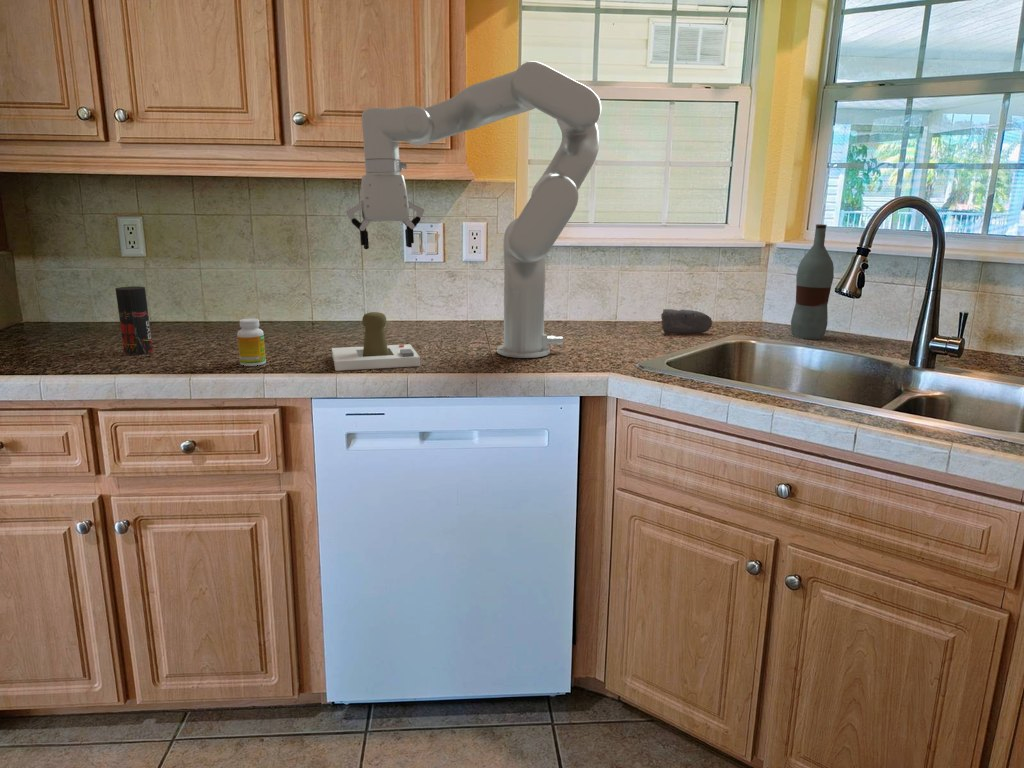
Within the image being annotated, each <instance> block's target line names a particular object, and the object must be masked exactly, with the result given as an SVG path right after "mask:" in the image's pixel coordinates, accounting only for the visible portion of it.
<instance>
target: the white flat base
mask: <svg viewBox="0 0 1024 768" xmlns="http://www.w3.org/2000/svg"><path fill="white" fill-rule="evenodd" d="M387 348H388V354H389V355H387V356H368V357H363V349H364V346H348V347H347V346H346V347H345V346H344V347H332V348H331V357H332V361H334V362H333V366H334V369H335V372H337V371H353V370H354V371H355V370H357V371H358V370H370V369H371V370H373V369H388V368H389V369H391V368H405V367H406V368H407V367H408V368H410V367H420V366H421V357H420V355H419V354H418V353H417V351H416V350H415V348H414V347H413V346H412V345H411V344H410V343H409V344H407V343H406V344H389V345H388V344H387Z"/></svg>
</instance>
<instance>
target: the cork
mask: <svg viewBox="0 0 1024 768" xmlns="http://www.w3.org/2000/svg"><path fill="white" fill-rule="evenodd" d="M361 322H362V325H363V327H364V339H363V347H364V349H363V357H368V356H387V355H389V354H388V348H387V345H388V342H387V337H386V331H385V327H386V324H387V317H386V315H385V314H384V313H383V312H378V311H372V312H367V313H364V314H363V316H362V321H361Z"/></svg>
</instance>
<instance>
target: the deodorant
mask: <svg viewBox="0 0 1024 768" xmlns="http://www.w3.org/2000/svg"><path fill="white" fill-rule="evenodd" d="M146 292H147V291H146V287H144V286H133V285H132V286H121V287H116V288H115V296H116V303H117V312H118V317H119V318H118V319H119V325H120V331H121V340H122V346H123V353H124V355H125V354H126V355H125V356H142V354H144V355H148V353H149V354H152V353H153V352H154V349H153V343H152V342H153V341H152V340H153V339H152V331H151V326H150V325H151V324H150V318H149V308H148V301H147V294H146Z"/></svg>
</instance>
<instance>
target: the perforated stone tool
mask: <svg viewBox="0 0 1024 768" xmlns="http://www.w3.org/2000/svg"><path fill="white" fill-rule="evenodd" d="M660 315H661V321H660V322H661V328H662V330H663V332H664V334H669V335H671V334H673V335H698V334H703V333H706V332H708V331H709V330H710V329H711V327H712V325H713V320H712V317H710V316H709V315H707V314H706V313H703V312H701V311H698V310H697V311H696V310H693V309H692V310H690V309H680V310H678V309H673V308H672V309H671V308H669V309H668V308H667V309H666V308H665V309H663V310H662V313H661V314H660Z"/></svg>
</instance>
